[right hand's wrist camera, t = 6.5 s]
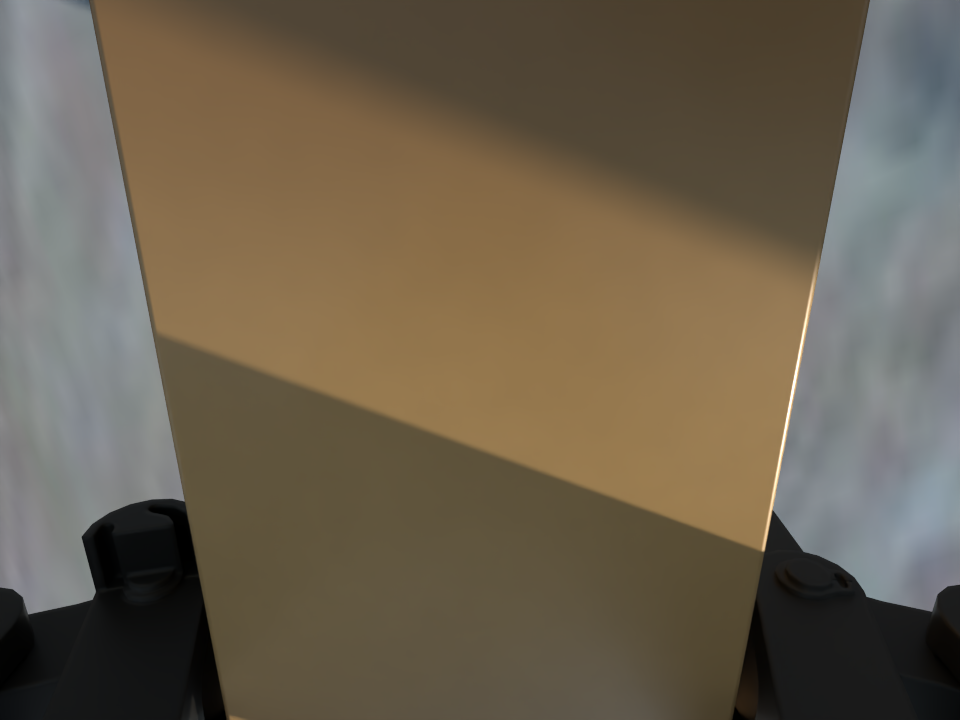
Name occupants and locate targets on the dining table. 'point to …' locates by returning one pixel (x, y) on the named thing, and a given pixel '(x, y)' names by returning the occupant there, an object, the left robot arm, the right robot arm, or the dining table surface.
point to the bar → (479, 334)
